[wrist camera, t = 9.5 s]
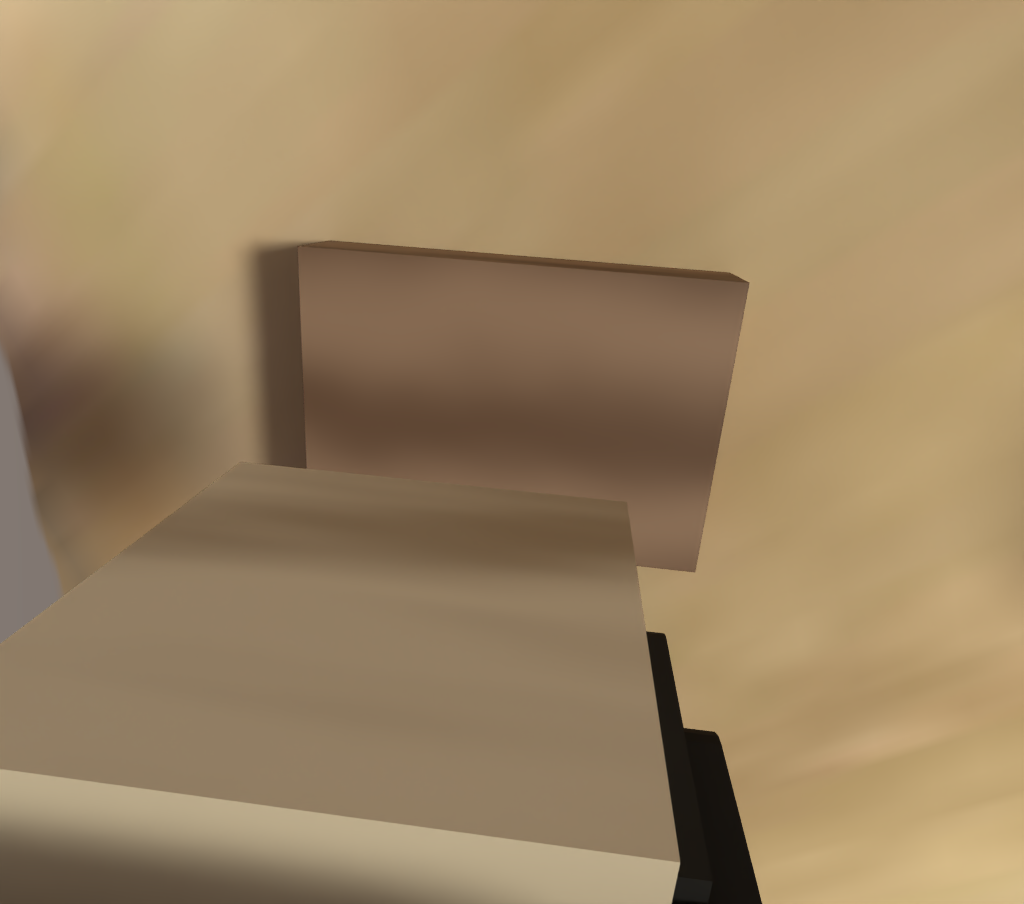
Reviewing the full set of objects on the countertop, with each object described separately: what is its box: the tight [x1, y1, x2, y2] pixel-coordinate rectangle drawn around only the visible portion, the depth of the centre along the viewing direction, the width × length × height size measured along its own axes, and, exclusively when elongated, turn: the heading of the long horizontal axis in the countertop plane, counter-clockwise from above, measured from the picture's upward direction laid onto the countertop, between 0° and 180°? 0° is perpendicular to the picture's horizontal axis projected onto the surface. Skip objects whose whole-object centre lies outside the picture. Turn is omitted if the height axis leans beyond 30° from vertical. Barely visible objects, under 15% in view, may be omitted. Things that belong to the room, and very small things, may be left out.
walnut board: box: [298, 241, 749, 572], centre depth 24 cm, size 10×14×3 cm
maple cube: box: [0, 462, 680, 904], centre depth 9 cm, size 6×6×6 cm
